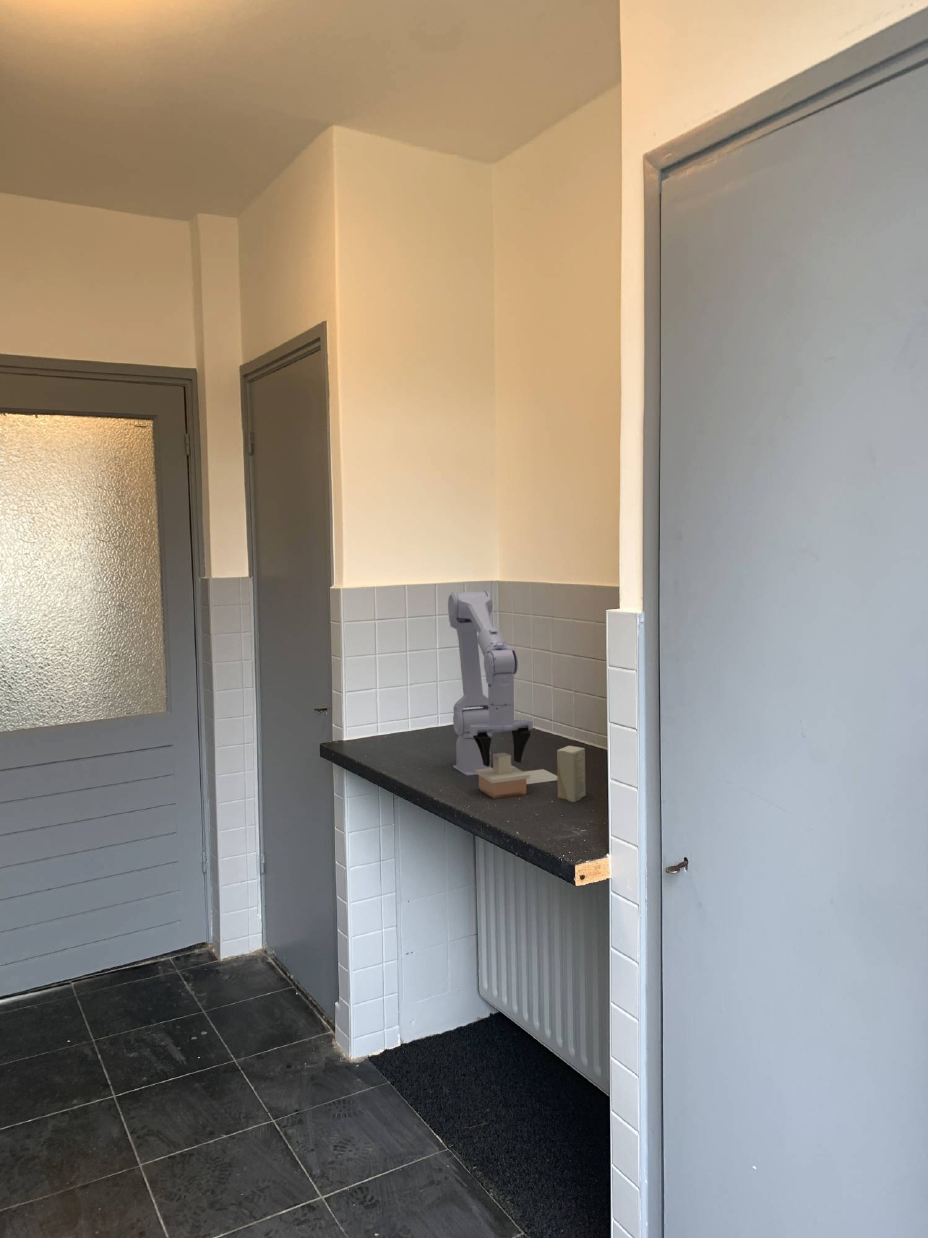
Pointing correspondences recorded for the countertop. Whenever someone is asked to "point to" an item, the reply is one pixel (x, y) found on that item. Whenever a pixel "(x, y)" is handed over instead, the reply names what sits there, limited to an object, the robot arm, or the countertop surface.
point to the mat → (540, 776)
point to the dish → (502, 788)
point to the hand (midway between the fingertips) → (502, 763)
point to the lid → (502, 770)
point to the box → (571, 773)
